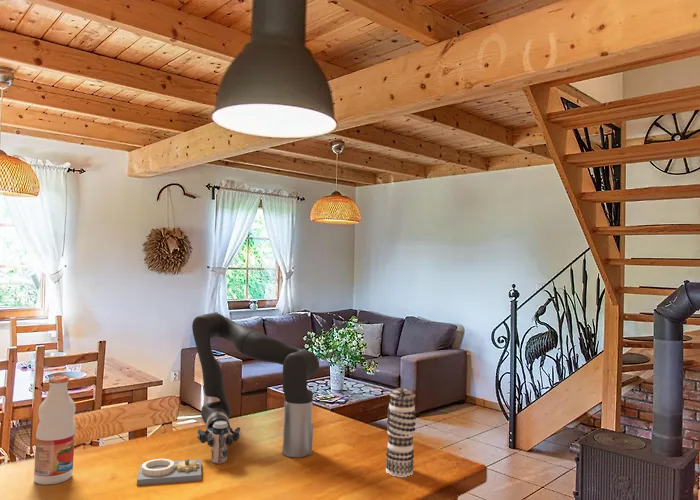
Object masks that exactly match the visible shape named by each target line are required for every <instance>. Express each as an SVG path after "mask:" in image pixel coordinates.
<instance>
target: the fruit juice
mask: <svg viewBox="0 0 700 500" xmlns="http://www.w3.org/2000/svg"><path fill="white" fill-rule="evenodd" d="M69 379H70V378H69V376H67V375H54V376H50V377H49V378H48V385H49V389H48V392H47V394H46V397H45V399H44V400H42V402H41V403H40V405H39V406H38V411H37V415H38V419H39V423H38V425H37V428H36V434H35V435H36V436H35V450H34V451H35V453H34V467H33V468H34V469H33V470H34V472H33V479H34V482H35V483H36V484H37V485H47V486H50V485H57V484H60V483H63V482H66V481H69V480H70V479H71V478H72V476H73V471H74V453H75V437H76V434H75V433H76V431H75V430H76V424H75V420H74V415H75V414H76V403H75V401H74V400H73V399H72V397H71V395H70V393H69V389H68V383H69Z"/></svg>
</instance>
